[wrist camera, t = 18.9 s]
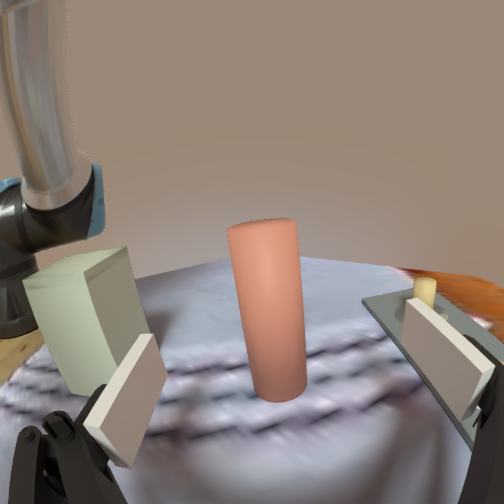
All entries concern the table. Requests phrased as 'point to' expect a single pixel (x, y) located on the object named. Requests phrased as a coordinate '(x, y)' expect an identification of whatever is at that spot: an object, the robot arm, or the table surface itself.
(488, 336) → the board
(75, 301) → the pale green block
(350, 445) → the table surface
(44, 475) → the robot arm
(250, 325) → the peg
